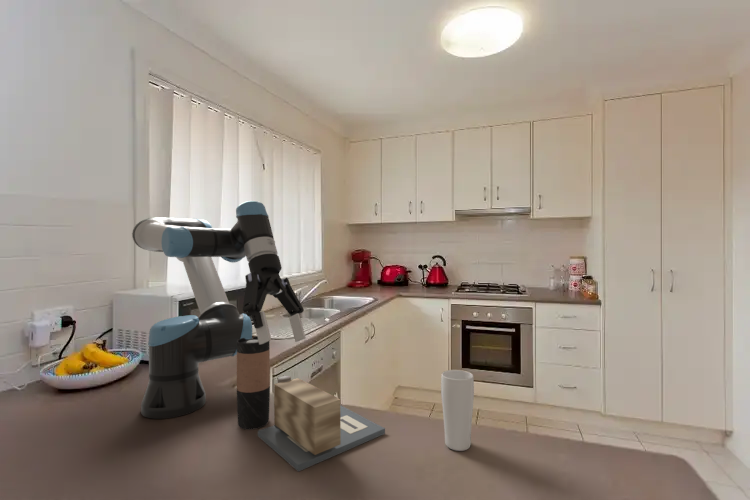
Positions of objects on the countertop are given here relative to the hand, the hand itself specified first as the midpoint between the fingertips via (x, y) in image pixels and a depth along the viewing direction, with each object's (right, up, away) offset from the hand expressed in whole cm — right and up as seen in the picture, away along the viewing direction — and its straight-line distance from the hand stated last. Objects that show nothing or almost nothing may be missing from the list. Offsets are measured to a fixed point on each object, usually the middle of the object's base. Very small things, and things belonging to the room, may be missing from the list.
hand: (284, 341), depth 87 cm
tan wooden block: (+5, -18, -6) cm, 20 cm away
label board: (+9, -20, -3) cm, 22 cm away
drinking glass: (+38, -20, -8) cm, 44 cm away
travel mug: (-8, -21, +3) cm, 22 cm away
